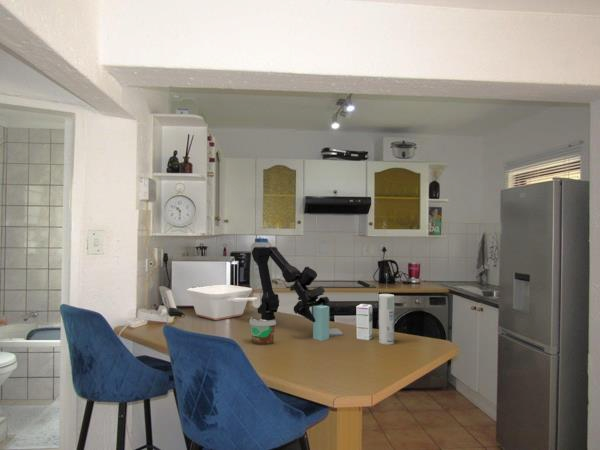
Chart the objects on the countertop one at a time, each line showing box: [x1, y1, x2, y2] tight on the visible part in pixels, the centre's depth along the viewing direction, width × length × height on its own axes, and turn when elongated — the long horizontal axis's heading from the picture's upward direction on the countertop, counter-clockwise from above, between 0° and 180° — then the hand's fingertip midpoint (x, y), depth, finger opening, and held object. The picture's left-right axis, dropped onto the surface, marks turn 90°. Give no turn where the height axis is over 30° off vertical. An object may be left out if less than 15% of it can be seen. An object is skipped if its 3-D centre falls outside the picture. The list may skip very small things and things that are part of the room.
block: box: [312, 305, 330, 342], centre depth 181 cm, size 5×5×14 cm
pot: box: [186, 284, 258, 321], centre depth 220 cm, size 29×44×15 cm, turn 47°
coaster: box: [329, 327, 344, 337], centre depth 190 cm, size 10×10×1 cm
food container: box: [248, 316, 277, 346], centre depth 172 cm, size 12×6×10 cm, turn 62°
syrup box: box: [355, 303, 374, 341], centre depth 182 cm, size 6×6×14 cm
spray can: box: [378, 293, 395, 345], centre depth 175 cm, size 6×6×20 cm
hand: (321, 320), depth 180 cm, fingers open, 9 cm apart
